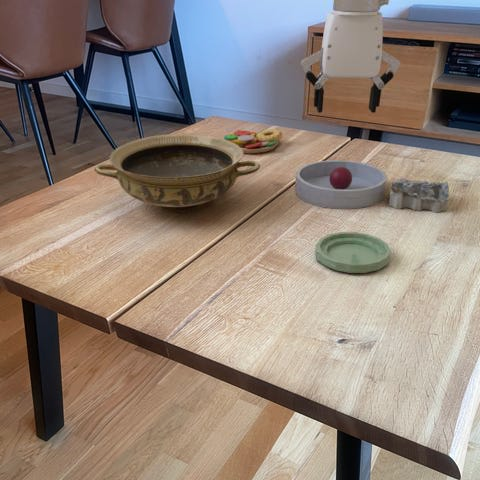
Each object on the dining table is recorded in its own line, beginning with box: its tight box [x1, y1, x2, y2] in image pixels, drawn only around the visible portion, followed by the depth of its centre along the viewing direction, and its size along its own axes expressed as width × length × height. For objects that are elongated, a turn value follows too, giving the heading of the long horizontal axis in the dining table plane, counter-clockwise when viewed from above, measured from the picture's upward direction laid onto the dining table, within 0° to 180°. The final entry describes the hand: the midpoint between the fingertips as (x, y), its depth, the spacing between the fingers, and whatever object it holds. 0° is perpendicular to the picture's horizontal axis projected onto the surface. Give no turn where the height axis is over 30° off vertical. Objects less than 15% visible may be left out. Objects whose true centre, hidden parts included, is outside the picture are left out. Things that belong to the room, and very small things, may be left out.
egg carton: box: [388, 178, 450, 213], centre depth 103 cm, size 11×8×4 cm
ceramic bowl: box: [94, 133, 261, 213], centre depth 103 cm, size 30×24×10 cm
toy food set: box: [223, 128, 283, 154], centre depth 134 cm, size 13×13×3 cm
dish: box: [294, 159, 388, 210], centre depth 109 cm, size 17×18×4 cm
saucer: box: [315, 231, 392, 274], centre depth 86 cm, size 11×11×2 cm
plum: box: [329, 167, 352, 190], centre depth 108 cm, size 4×4×4 cm
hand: (345, 110), depth 101 cm, fingers open, 9 cm apart
